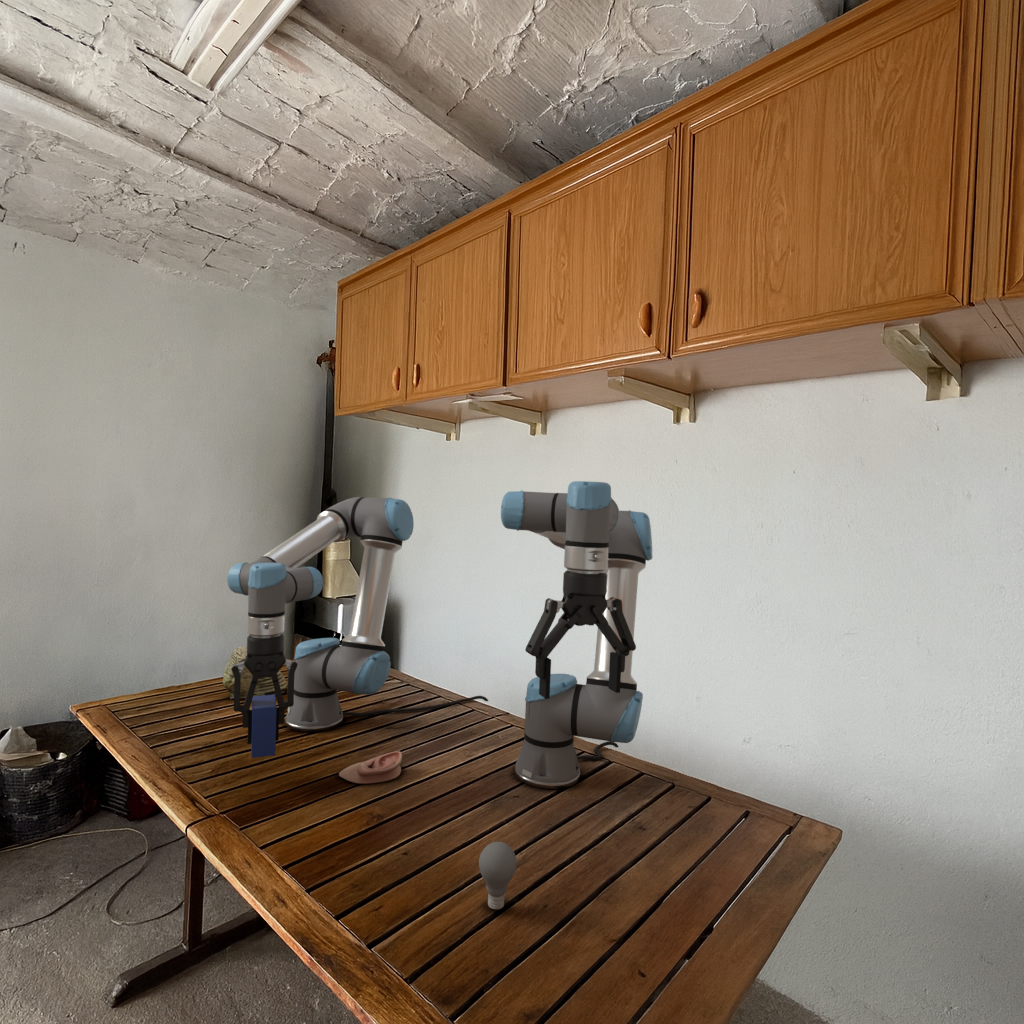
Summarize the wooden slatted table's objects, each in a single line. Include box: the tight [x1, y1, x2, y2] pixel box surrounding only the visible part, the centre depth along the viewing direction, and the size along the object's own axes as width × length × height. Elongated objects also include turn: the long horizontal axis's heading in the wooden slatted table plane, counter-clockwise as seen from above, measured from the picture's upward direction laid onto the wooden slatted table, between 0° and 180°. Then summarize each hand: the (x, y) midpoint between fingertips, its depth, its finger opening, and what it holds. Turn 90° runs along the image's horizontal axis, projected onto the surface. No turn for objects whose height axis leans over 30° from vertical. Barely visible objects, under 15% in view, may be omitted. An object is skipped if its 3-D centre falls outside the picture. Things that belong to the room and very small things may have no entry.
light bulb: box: [478, 841, 518, 910], centre depth 100 cm, size 6×6×10 cm
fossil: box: [222, 646, 288, 699], centre depth 198 cm, size 9×18×15 cm, turn 132°
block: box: [250, 695, 277, 759], centre depth 138 cm, size 8×5×11 cm, turn 23°
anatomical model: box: [338, 750, 403, 784], centre depth 146 cm, size 13×4×12 cm
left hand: (263, 739), depth 139 cm, fingers closed on block, 5 cm apart
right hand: (579, 693), depth 110 cm, fingers open, 13 cm apart
